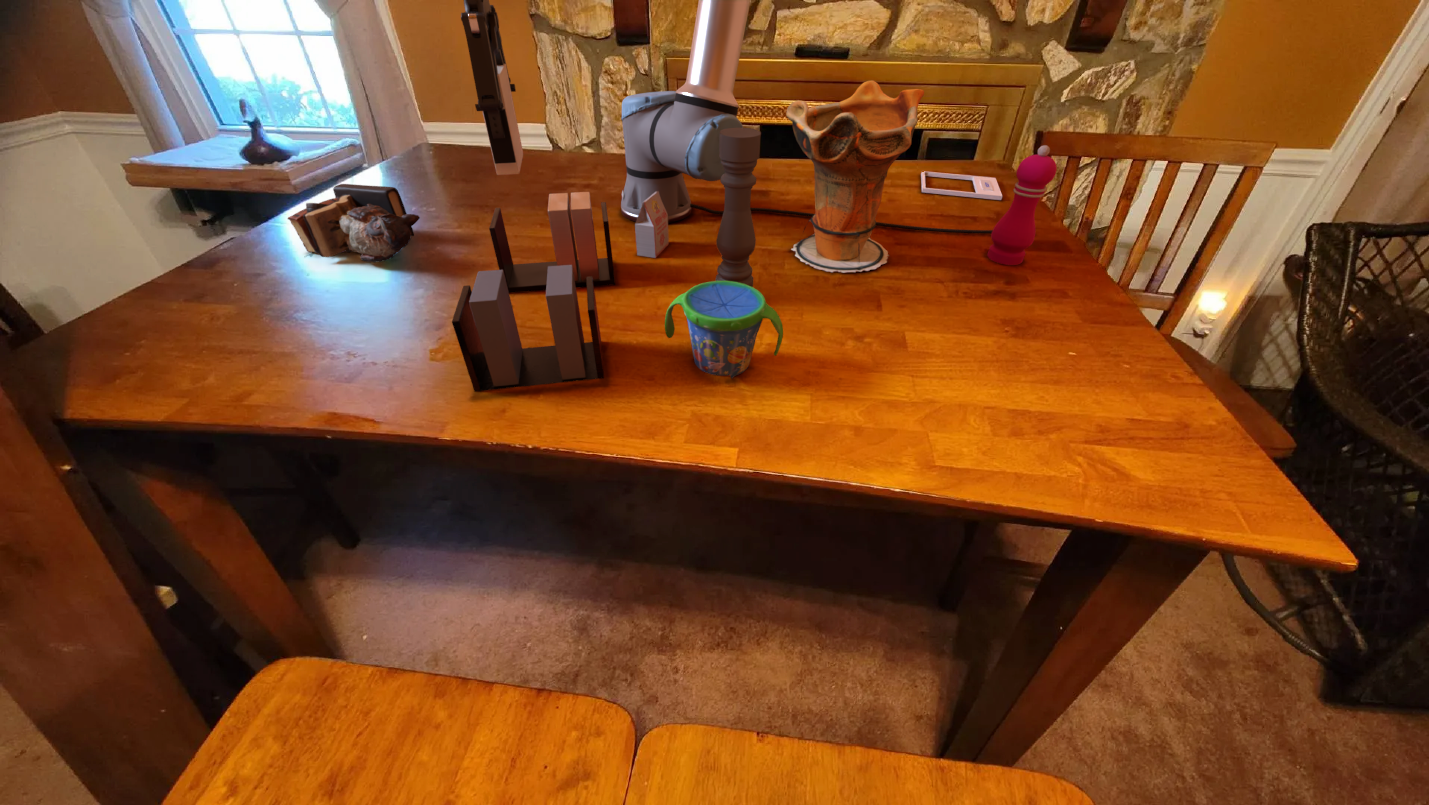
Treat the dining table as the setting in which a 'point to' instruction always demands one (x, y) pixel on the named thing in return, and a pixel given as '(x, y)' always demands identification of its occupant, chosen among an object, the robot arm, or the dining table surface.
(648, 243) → the milk carton
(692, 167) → the robot arm
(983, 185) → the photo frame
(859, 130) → the decorative vase
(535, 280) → the black rack
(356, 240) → the bookend
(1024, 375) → the dining table surface
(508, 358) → the grey book
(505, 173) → the white book
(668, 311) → the snack cup
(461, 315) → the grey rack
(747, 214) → the candle holder
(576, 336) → the grey book
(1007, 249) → the pepper mill
